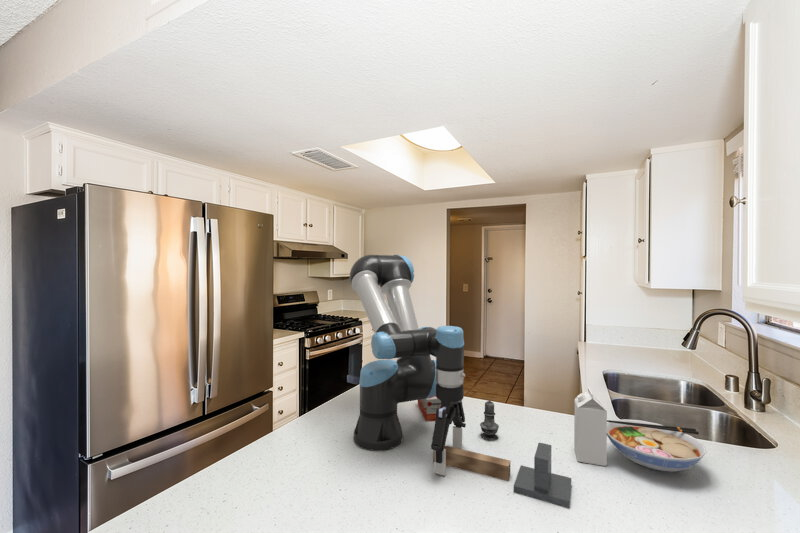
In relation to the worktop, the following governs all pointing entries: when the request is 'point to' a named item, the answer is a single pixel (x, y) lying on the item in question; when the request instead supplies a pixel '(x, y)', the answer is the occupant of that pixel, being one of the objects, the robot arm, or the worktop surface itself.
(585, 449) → the milk carton
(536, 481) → the ridge stand
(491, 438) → the grey stone chess piece
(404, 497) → the worktop surface
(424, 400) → the medicine box
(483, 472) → the walnut beam
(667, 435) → the ramen bowl
